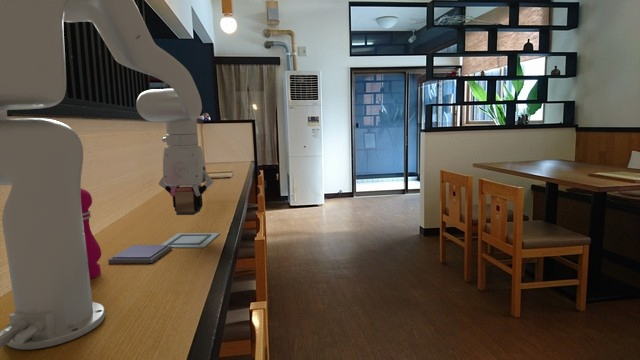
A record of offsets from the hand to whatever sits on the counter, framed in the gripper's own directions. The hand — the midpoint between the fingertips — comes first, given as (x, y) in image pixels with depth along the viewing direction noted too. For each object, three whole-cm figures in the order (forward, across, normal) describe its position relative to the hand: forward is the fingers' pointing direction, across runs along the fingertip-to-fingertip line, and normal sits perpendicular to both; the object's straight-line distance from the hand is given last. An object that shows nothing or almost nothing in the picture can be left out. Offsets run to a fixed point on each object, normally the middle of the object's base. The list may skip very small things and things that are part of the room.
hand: (188, 209), depth 100 cm
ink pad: (+8, -7, -12) cm, 16 cm away
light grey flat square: (+8, 0, 0) cm, 8 cm away
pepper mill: (+8, -13, -24) cm, 29 cm away
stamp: (+1, 0, 0) cm, 1 cm away
